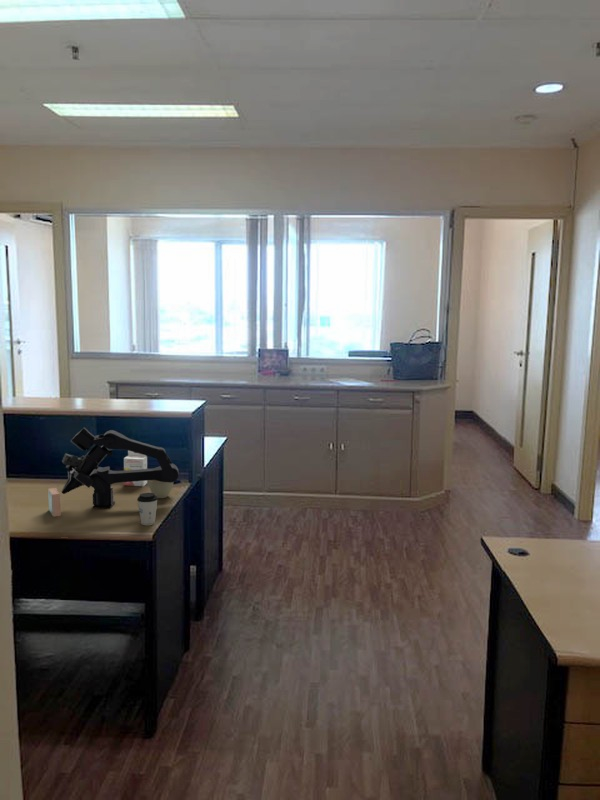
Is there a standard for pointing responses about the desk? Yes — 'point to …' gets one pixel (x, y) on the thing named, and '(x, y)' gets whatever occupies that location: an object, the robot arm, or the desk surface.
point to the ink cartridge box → (135, 466)
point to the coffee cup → (147, 508)
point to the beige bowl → (160, 488)
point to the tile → (54, 502)
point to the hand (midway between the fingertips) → (62, 493)
